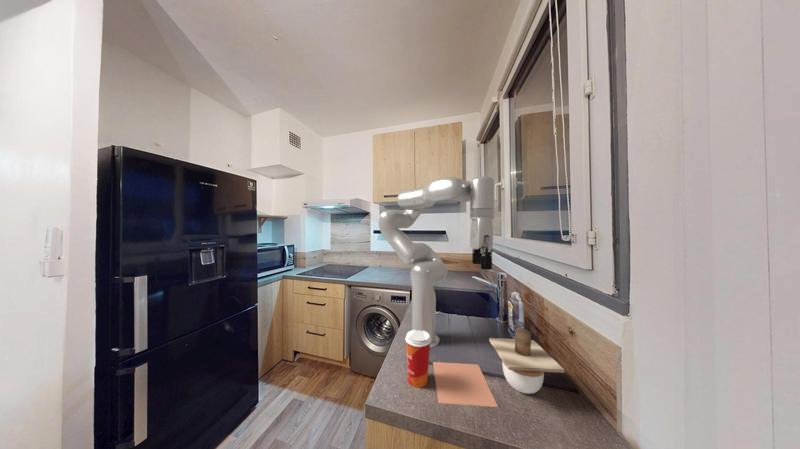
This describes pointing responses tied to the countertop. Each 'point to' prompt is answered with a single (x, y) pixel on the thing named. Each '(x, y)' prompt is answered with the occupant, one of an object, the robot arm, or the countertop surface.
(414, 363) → the paper cup
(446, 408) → the countertop surface
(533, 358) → the birch lid
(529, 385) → the lidded jar
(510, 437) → the countertop surface
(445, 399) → the terracotta mat
